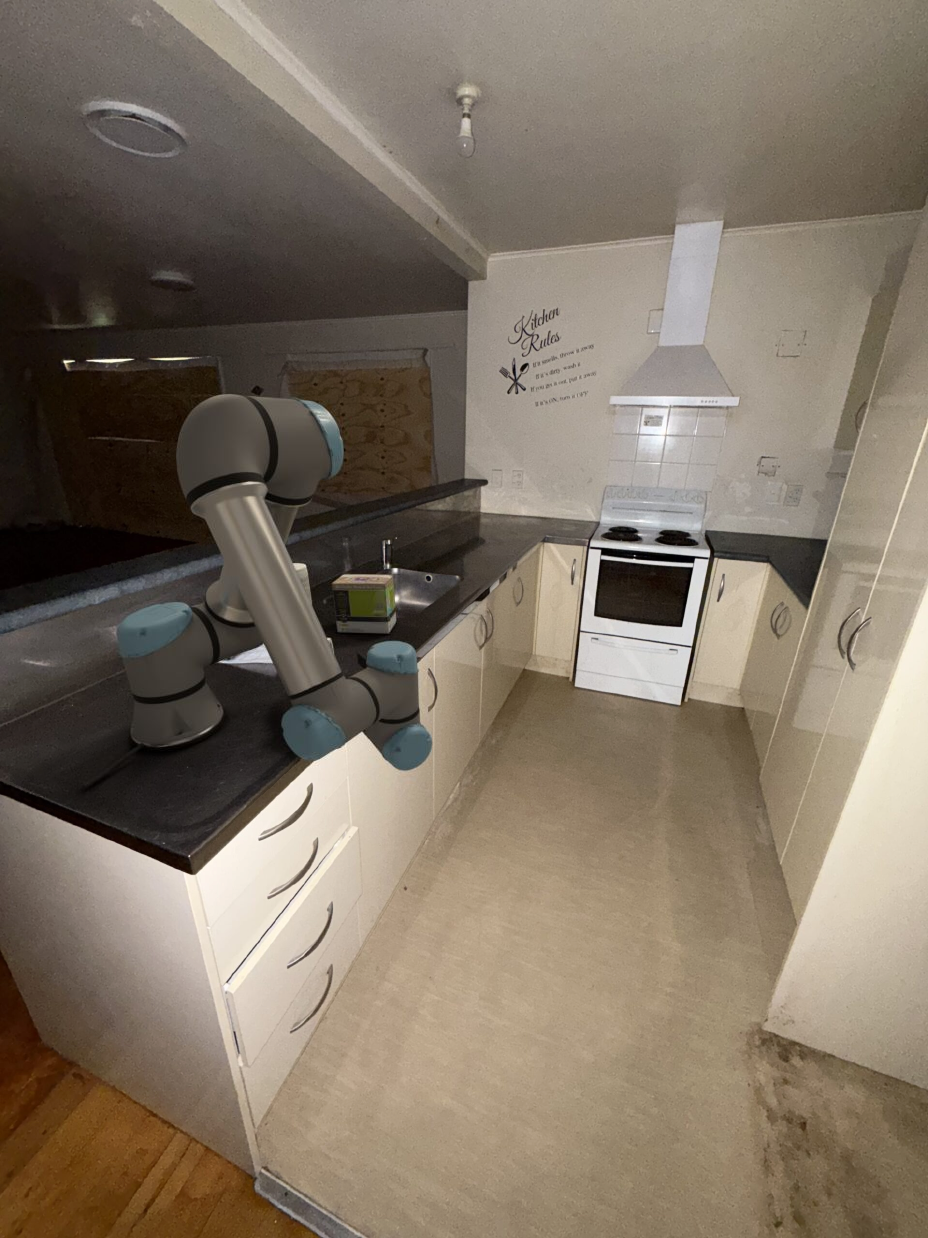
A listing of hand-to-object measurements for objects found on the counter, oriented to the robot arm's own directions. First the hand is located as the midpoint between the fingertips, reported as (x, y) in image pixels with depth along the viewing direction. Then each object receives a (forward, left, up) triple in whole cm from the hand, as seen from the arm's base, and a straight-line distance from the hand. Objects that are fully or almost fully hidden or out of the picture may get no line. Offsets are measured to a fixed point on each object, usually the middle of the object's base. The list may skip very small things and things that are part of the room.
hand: (328, 665), depth 102 cm
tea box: (+37, +9, -7) cm, 38 cm away
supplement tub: (+43, +36, -7) cm, 56 cm away
